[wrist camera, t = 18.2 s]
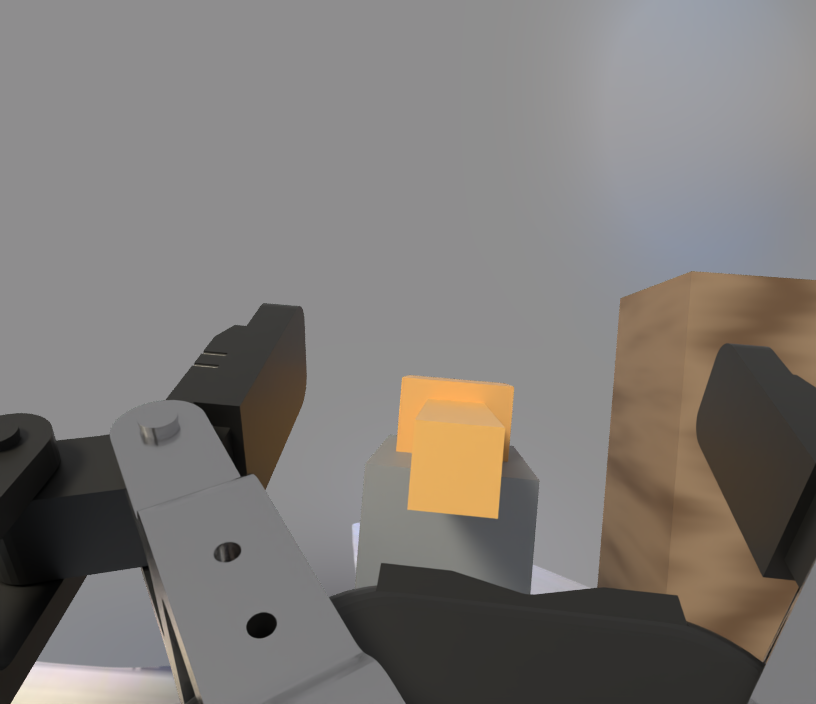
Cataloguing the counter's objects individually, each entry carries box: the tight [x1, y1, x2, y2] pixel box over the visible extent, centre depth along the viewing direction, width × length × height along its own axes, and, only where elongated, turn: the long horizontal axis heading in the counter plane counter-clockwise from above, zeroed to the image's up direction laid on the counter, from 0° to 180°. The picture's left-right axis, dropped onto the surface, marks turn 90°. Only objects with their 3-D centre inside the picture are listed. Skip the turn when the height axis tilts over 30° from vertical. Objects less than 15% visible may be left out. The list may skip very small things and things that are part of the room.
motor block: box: [355, 435, 539, 594], centre depth 35 cm, size 8×12×22 cm, turn 176°
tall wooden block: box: [597, 271, 816, 661], centre depth 34 cm, size 8×12×32 cm, turn 176°
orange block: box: [396, 375, 514, 519], centre depth 31 cm, size 6×19×4 cm, turn 176°
